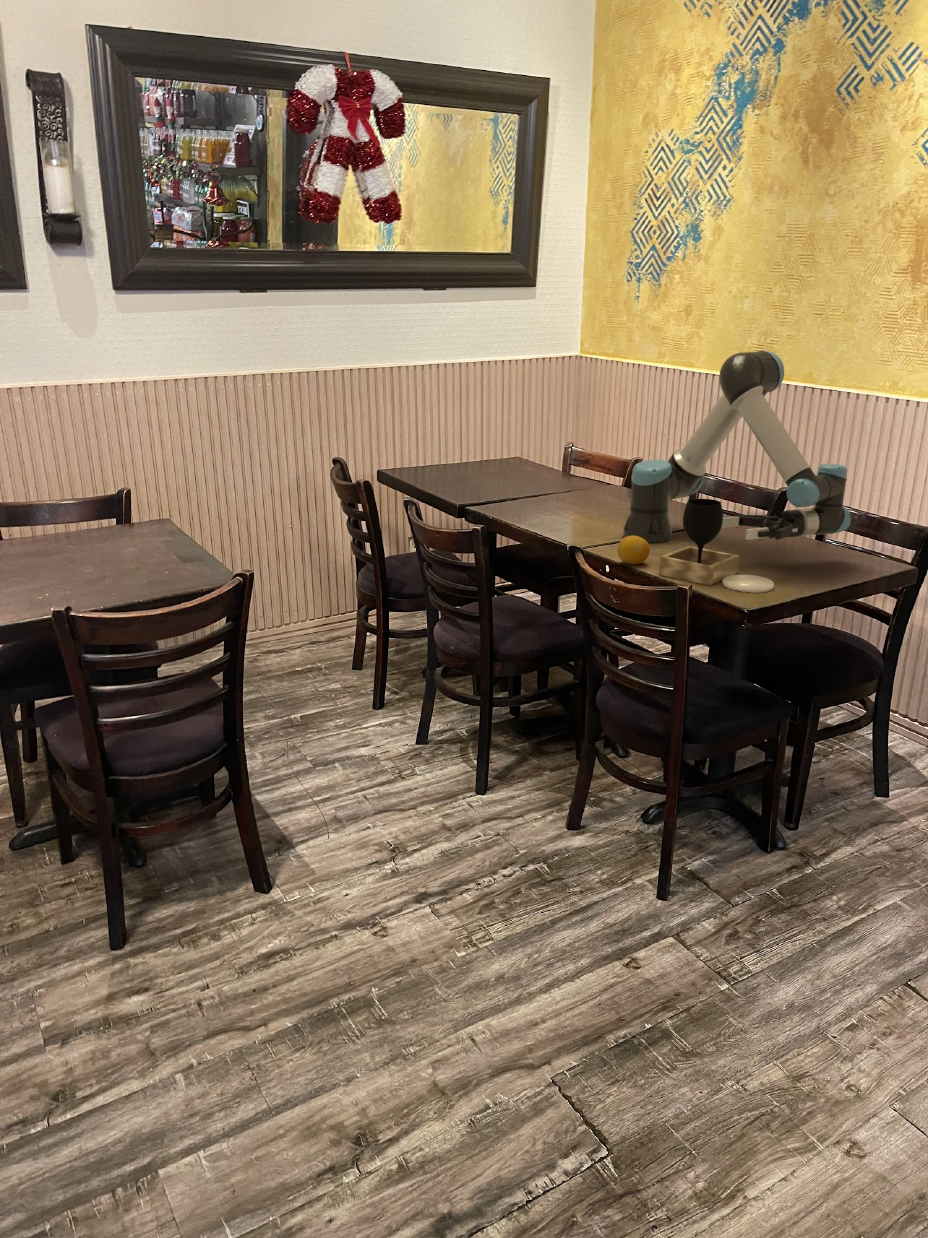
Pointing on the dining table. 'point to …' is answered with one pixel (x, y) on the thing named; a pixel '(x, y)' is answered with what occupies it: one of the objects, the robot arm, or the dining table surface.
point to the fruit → (633, 550)
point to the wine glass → (702, 521)
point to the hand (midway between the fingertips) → (731, 528)
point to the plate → (748, 583)
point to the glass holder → (698, 565)
